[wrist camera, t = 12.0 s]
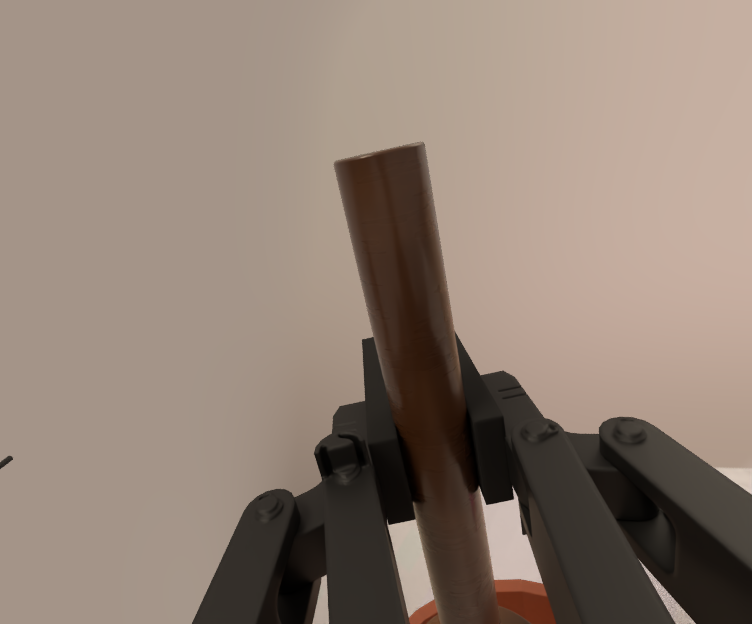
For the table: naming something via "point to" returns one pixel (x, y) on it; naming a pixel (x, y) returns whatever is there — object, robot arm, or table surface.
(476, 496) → the paper towel holder
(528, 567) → the table surface
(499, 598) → the bowl
